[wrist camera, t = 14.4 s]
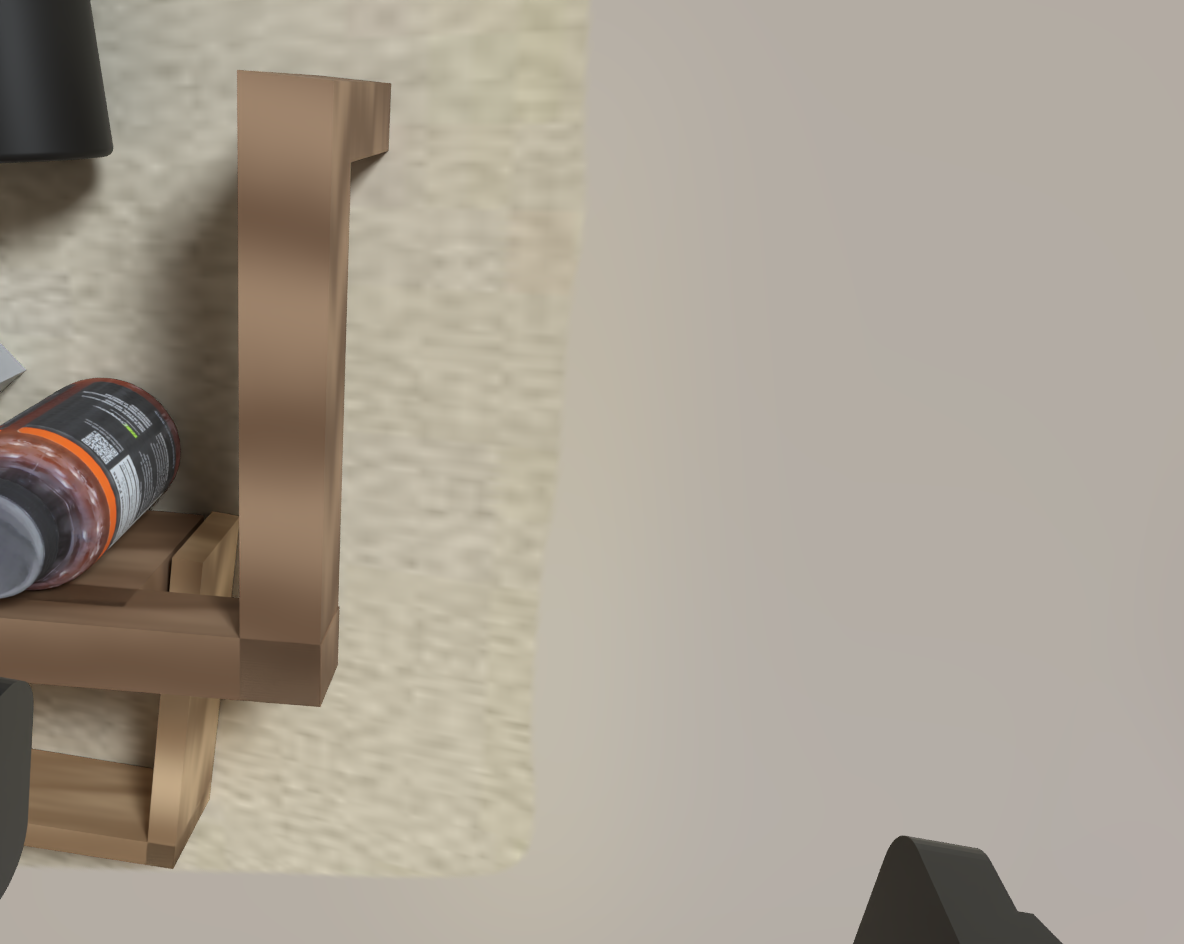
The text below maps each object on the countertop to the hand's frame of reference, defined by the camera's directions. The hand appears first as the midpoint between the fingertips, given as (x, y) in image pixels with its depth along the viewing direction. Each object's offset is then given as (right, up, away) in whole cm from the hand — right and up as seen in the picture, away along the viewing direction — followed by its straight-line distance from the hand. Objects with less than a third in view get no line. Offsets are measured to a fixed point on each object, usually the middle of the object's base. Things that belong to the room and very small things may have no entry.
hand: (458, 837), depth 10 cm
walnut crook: (-15, +9, +35) cm, 39 cm away
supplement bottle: (-19, +5, +36) cm, 41 cm away
